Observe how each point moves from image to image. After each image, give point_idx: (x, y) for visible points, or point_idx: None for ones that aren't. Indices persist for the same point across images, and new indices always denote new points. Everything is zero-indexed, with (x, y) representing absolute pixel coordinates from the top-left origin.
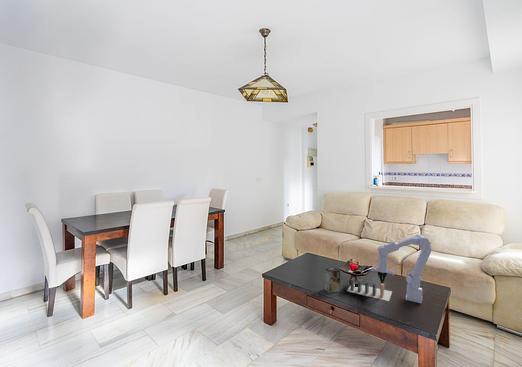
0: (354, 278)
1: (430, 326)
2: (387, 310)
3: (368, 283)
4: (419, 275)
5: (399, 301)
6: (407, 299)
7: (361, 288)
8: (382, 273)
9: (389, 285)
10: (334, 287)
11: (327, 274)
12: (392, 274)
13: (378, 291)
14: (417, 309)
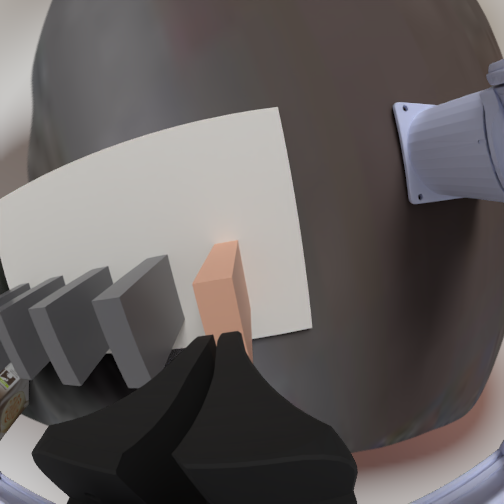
0: None
1: (478, 386)
2: (326, 421)
3: (69, 326)
4: None
5: (378, 258)
6: (423, 196)
7: (56, 287)
8: (153, 439)
9: (207, 3)
10: (15, 407)
11: None
12: (486, 482)
13: (167, 200)
14: (467, 289)
